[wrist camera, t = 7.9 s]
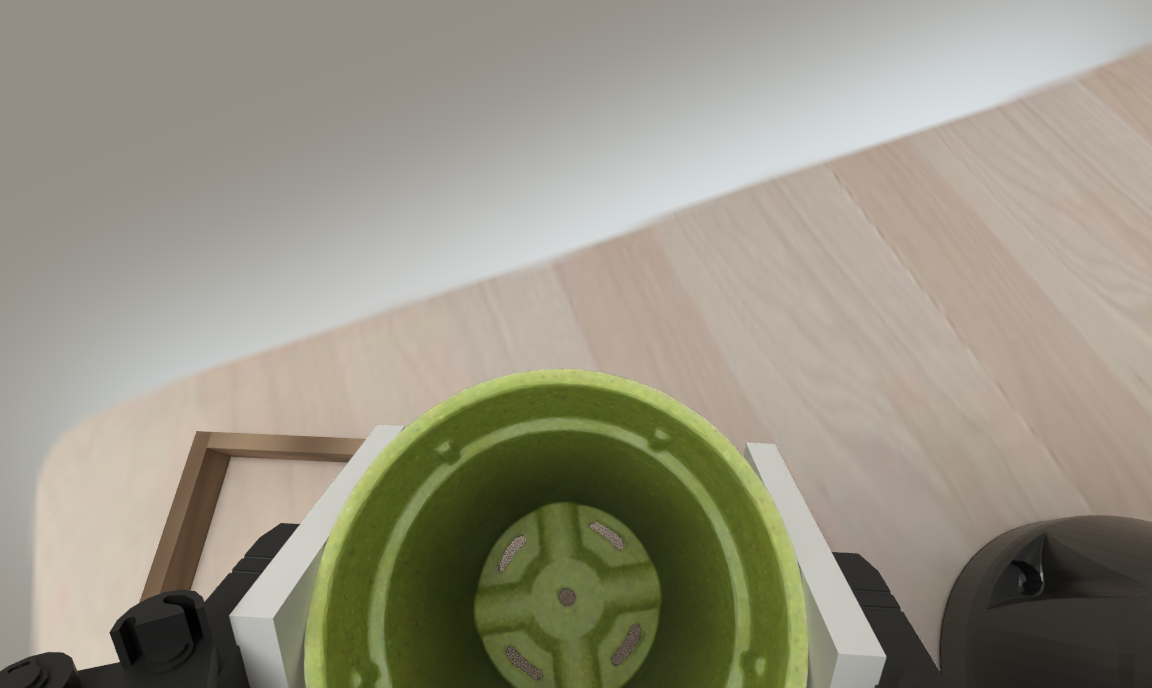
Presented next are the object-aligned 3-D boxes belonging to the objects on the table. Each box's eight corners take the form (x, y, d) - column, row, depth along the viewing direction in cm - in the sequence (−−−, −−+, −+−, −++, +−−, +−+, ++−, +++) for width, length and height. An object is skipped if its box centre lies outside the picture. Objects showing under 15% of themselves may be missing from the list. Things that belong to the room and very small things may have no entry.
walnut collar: (457, 452, 30) (448, 443, 28) (416, 747, 25) (402, 759, 23) (220, 441, 30) (196, 431, 29) (130, 726, 25) (94, 736, 23)
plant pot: (764, 556, 19) (892, 527, 11) (614, 855, 16) (640, 1117, 8) (537, 408, 21) (505, 296, 13) (367, 644, 18) (192, 682, 10)
